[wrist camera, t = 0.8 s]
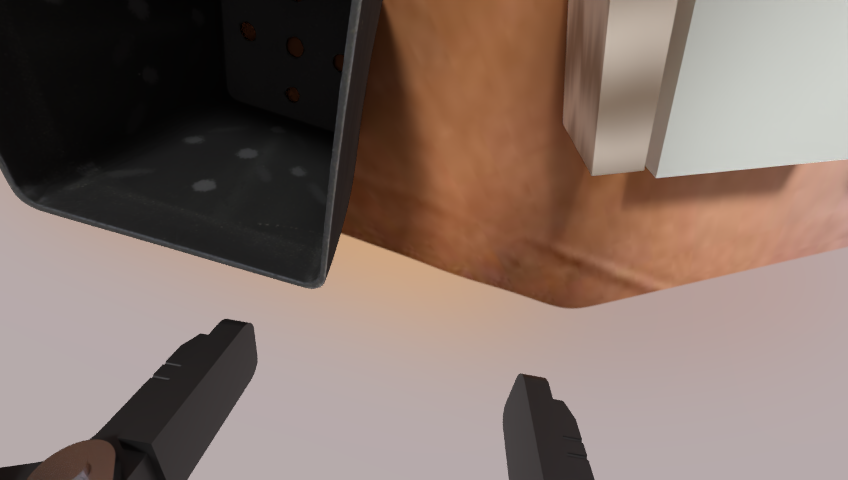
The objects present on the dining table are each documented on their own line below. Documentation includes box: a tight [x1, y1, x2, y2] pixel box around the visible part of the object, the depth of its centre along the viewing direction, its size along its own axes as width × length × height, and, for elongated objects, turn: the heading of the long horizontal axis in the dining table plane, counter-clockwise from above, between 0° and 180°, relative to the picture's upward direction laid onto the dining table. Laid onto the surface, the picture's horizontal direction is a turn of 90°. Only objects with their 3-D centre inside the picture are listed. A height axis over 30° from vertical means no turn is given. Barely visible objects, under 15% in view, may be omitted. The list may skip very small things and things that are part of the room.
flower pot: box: [0, 0, 383, 289], centre depth 22 cm, size 19×19×17 cm
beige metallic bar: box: [563, 0, 678, 176], centre depth 22 cm, size 12×3×10 cm, turn 10°
